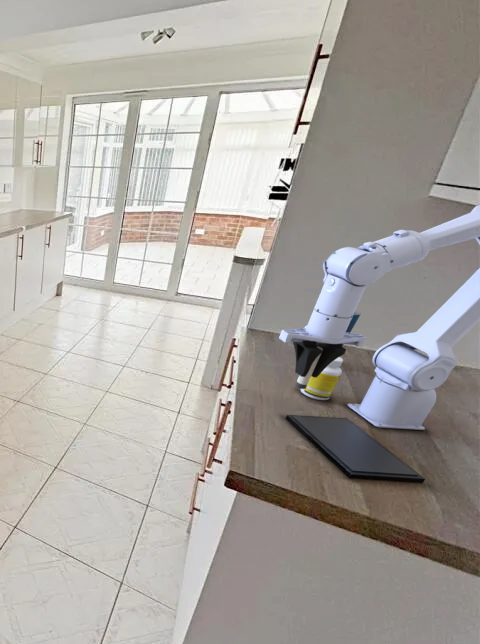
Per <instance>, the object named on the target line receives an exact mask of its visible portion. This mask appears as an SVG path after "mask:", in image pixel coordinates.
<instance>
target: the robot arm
mask: <svg viewBox="0 0 480 644" xmlns="http://www.w3.org/2000/svg"><path fill="white" fill-rule="evenodd" d="M474 239H475V240H476V242H477V243H478V245H479V246H480V204H479V205H476V206H474V208H473V209H472V210H471V211H470V212H468V213H466V214H463V215H461V216H459V217H456V218H454V219H451V220H448V221H446V222H443V223H441V224H439V225H436V226H433V227H431V228H428V229H426V230H424V231H421V232H418V231H415V230H410V229H409V230H406V229H399V230H395V231H393V234H392V235H389V236H387V237H384V238H381V239H378V240H375V241H367V242H364V243H363V244H362V245H360V246H358V247H353V246H345V247H341V248H339V249H337V250H335V251H334V252H332V253H331V254H330V255H329V256H328V258H327V259H324V261H323V263H322V270H323V272H324V277H323V279H322V282H323V285H322V288H321V291H320V293H319V296H318V298H317V300H316V303H315V305H314V307H313V310H312V313H311V315H310V318H309V320H308V323H307V325H305V326H304V327H302V328H293V329H281V331H280V335H279V336H278V339H279V340H280V341H281V342H283V343H286V344H290V343H292V344H293V347H294V353H295V368H294V369H295V370H294V373H296V375H298V376H299V375H300V376H301V377H305V376H306V375H307V373H308V372H309V370H310V368H311V365H312V364H313V362H314V361H315V359H316V358H317V357H318V356H319V355H320V354H321V355H320V357H319V360H318V362H317V364H316V367H315V369H314V371H313V373H312V377H316V378H317V377H318V376H319V374H320V373H321V372H322V371H323V370H324V369H325V368H326V367H327V366H328V365H329V364H330V363H331V362H333V361H334V360H335V359H337V358H338V357H342V356H343V355H345V354H346V351H347V349H346V348H345V347H343V346H342V344H344V345H350V346H356V347H364V344H365V343H366V341H367V337H366V336H364V335H362V334H360V333H355V332H350V333H348V332H346V330H347V328H348V326H349V323H350V321H351V319H352V317H353V315H354V312H355V310H357V308H358V306H359V304H360V301H361V299H362V297H363V295H364V292H365V290H366V288H367V286H368V285H373V284H374V283H375V282H377V281H378V280H380V278H381V277H382V276H383V275H385V274H388V273H389V272H390V271H393V270H397V269H398V268H402V267H405V266H408V265H411V264H414V263H418V262H420V261H422V260H424V259H425V258H426V257H427V256H428V254H429V252H430V251H434V250H437V249H441V248H444V247H448V246H452V245H457V244H459V243H462V242H467V241H470V240H474ZM478 323H480V267H479V268H478V269H477V270H476V271H475V272H473V274H472V275H471V276H470V277H469V278H468V279H467V280H466V281H465V282H464V283H463V284H462V285H461V286H460V287H459V289H457V290H456V291H455V292H454V293H453V294H452V295H451V296H450V297H449V299H447V300H446V301H445V303H443V304H442V306H440V307H439V309H437V311H435V312H434V314H432V315H431V316H430V317H429V318H428V319H427V320H426V321H425V322H424V324H423V325H421V327H419V328H418V329H417V330H416V331H415V332H407V333H402V334H401V333H400V334H397V335H395V337H394V338H393V339H392V340H391V341H389V342H388V343H385V344H383V345H382V346H380V347H379V348H378V349H377V350H376V351H375V352H374V354H373V355H372V359H371V361H372V364H373V366H374V367H375V368H374V371H373V372H374V373H376V374H375V376H374V378H373V379H372V382H371V384H370V385H369V388H368V389H367V391H366V394H365V395H364V397H363V399H362V401H361V402H360V403H347V404H346V405H347V407H348V408H350V409H351V410H352V411H354V412H356V413H357V414H358V415H359V416H361V417H362V418H364V419H365V420H366V421H368V422H369V423H370V424H372V425H373V426H374V427H376V428H384V429H397V430H399V429H400V430H415V431H416V430H418V431H425V429H426V427H425V426H423V424H424V422H425V420H426V419H427V417H428V415H429V414H430V412H431V411H432V409H433V407H434V406H435V404H436V402H437V393H436V388H439V387H441V386H442V385H443V384H444V383H445V382H446V381H447V379H448V377H449V376H450V374H451V372H452V370H453V369H454V368H455V367H456V366H457V365H458V364H459V362H458V359H457V357H456V354H455V353H454V351H453V347H455V345H456V344H457V343H458V342H459V341H461V339H462V338H463V337H464V336H465V335H467V334H468V333H469V332H470V331H471V330H472V329H473V328H474V327H475V326H476V325H477V324H478ZM317 347H320V348H322V349H323V351H322V350H321V349H319V348H317ZM417 350H419V351H422V352H423V353H426V355H425V354H423V353H422V352H419V351H417ZM427 355H428V356H427Z"/></svg>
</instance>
